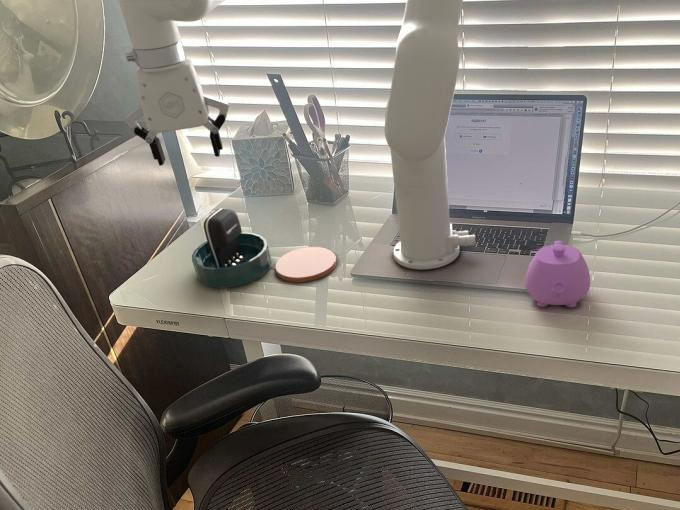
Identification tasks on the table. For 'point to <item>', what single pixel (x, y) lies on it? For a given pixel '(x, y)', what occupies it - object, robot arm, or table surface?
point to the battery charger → (224, 238)
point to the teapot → (558, 276)
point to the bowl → (238, 274)
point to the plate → (305, 264)
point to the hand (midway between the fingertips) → (190, 158)
